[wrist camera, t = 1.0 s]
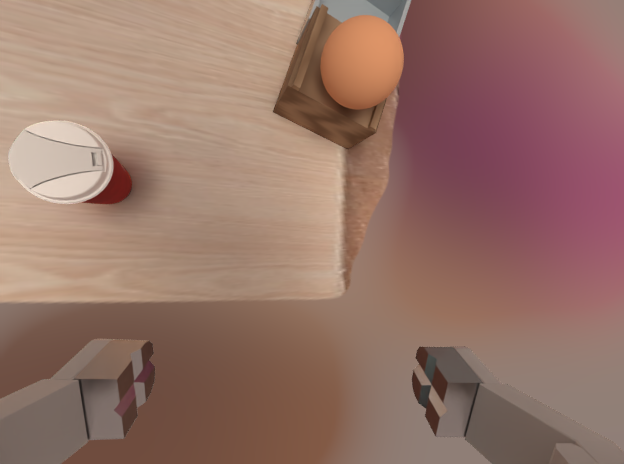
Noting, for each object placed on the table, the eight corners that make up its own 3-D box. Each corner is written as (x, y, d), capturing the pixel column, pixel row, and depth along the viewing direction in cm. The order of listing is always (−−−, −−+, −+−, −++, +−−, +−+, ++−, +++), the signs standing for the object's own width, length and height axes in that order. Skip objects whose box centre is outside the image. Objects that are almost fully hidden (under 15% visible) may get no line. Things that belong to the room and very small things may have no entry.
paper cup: (138, 154, 40) (104, 117, 27) (143, 210, 40) (113, 200, 27) (68, 154, 37) (-7, 112, 24) (74, 213, 38) (4, 205, 24)
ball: (294, 76, 38) (323, 25, 29) (342, 33, 40) (383, -27, 31) (343, 135, 41) (384, 107, 31) (386, 92, 43) (436, 53, 34)
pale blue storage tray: (296, 43, 48) (308, 18, 42) (323, -32, 49) (338, -66, 43) (369, 86, 52) (388, 69, 47) (391, 17, 54) (413, -8, 48)
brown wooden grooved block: (273, 111, 46) (289, 82, 37) (297, 45, 48) (318, 1, 38) (347, 149, 51) (378, 131, 42) (367, 87, 52) (402, 57, 43)
